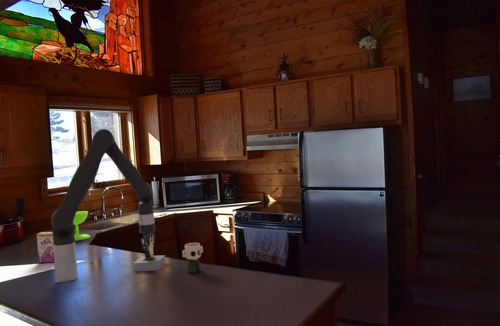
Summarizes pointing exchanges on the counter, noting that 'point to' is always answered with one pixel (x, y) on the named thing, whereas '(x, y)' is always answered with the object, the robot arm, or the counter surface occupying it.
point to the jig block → (149, 264)
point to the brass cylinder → (150, 254)
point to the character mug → (193, 256)
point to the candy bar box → (45, 247)
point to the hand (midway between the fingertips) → (149, 256)
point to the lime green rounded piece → (77, 220)
